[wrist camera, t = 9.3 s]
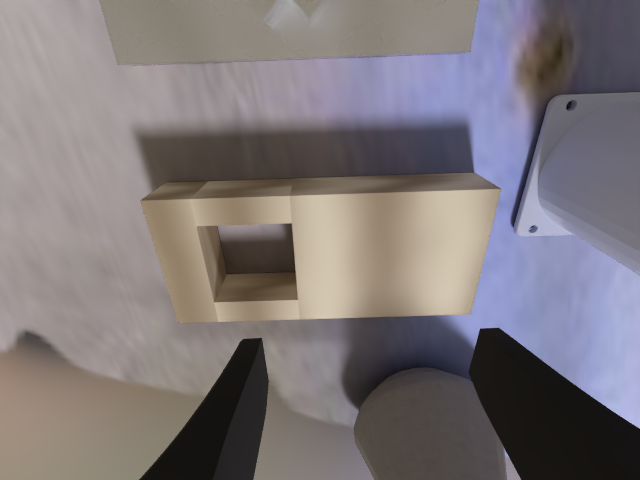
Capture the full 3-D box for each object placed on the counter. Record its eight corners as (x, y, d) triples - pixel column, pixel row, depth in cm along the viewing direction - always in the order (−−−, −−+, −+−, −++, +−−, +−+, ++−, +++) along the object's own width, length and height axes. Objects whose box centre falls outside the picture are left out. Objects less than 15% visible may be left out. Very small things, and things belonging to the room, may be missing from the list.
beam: (474, 172, 18) (501, 188, 16) (452, 285, 22) (470, 314, 19) (165, 182, 18) (140, 200, 16) (195, 293, 22) (178, 322, 20)
